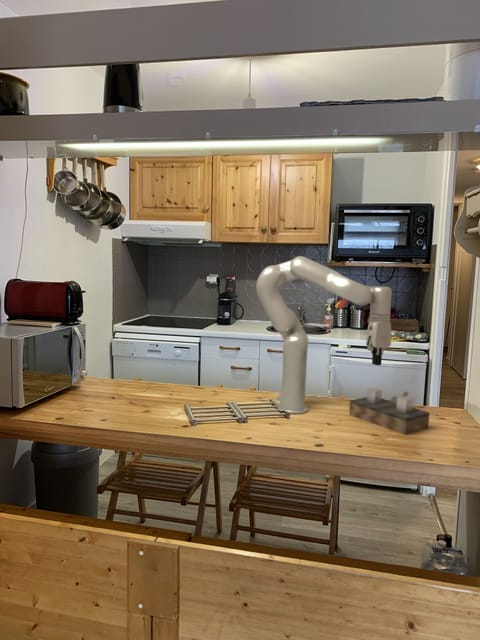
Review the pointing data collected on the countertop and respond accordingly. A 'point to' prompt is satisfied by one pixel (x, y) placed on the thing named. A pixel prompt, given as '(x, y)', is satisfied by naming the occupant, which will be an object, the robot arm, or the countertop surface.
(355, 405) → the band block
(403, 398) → the peg
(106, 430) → the countertop surface
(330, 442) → the countertop surface
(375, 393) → the peg
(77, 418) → the countertop surface
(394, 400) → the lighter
